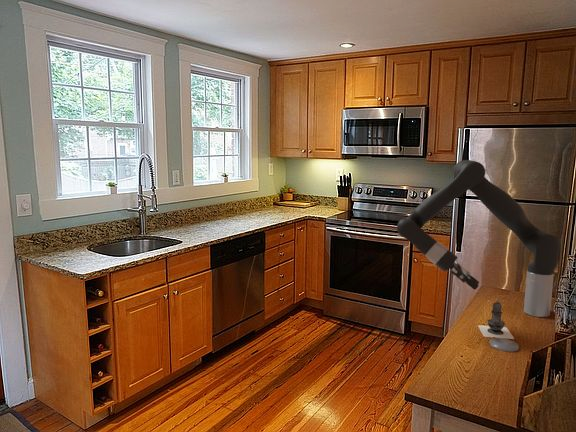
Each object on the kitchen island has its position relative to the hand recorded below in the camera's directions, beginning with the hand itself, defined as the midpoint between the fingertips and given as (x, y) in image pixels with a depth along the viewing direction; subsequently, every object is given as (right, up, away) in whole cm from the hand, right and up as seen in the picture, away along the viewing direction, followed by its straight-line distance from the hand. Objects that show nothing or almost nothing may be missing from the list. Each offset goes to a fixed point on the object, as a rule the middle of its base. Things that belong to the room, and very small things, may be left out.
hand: (477, 286), depth 158 cm
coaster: (+4, -18, -11) cm, 22 cm away
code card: (+7, -17, 0) cm, 18 cm away
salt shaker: (+7, -17, 0) cm, 18 cm away
